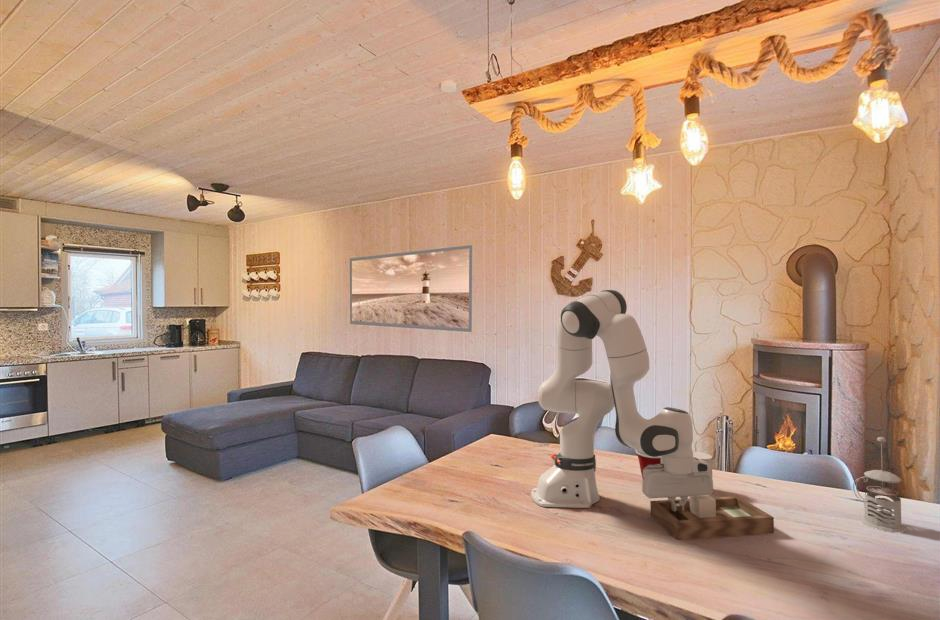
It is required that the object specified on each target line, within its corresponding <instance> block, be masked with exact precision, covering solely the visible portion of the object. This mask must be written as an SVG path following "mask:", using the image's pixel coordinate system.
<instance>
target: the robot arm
mask: <svg viewBox="0 0 940 620" xmlns="http://www.w3.org/2000/svg"><path fill="white" fill-rule="evenodd" d="M627 307H628V305H627V302H626V299H625V296H623V294H622V293H620V292H619V291H617V290H613V289H605V290H601V291H598V292H594V293H590V294H587V295H585V296H584V297H581V298H579V299H577V300H574V301H571V302H570V303H568V304H567V305H565V306H564V308H562V309H561V313H560V315H559V319H558V322H557V323H558V325H557V332H556V333H557V334H556V347H557V349H556V350H557V351H556V352H557V353H556V354H557V355H556V356H557V358H556V366H555V368H554V372H553V373H552V374H551V375H550V377H548V378H547V379H546V380H544V381H543V382H542V383H540V385H539V387H538V389H537V394H536V395H537V396H536V397H537V398H536V399H537V402H538V404H539V406H540V408H541V409H543V411H545V410H546V411H549V412H554V413H561V414H562V413H563V414H564V413H565V414H578V418H577V419H576V420H574V421H572V422H570V423H568V424H566V425H564V426H563V427H562V428H561V430H560V432H559V449H560V450H559V453H558V454H557V453H555V452H552V453H551V454H550V458H551V459H552V460H553V461H554V464H553V465H552V466H551V467H550V468H549V469H547V470H545V471H544V472H543V473H542V474H541V475H539V478H538V483H537V487H534V488H532V489H531V493H530V494H531V495H530V496H531V498H532V500H533V501H534V502H535V503H536V504H537V505H539V506H541V507H543V508H546V507H547V508H575V509H576V508H577V509H582V508H583V509H588V508H589V509H590V508H591V507H592V505H593V504H595V503H598V502H599V501H600V499H601V498H600V494H599V490H598V485H597V481H596V480H597V479H596V467H597V461H596V454H595V436H596V431H597V427H598V425H599V423H600V422H601V420H602V419H603V418H605V416H606V415H608V414H609V413H610V412H612V411H613V410H615V425H614V428H615V429H614V430H615V437H616V439H617V440H618V442H619V443H620V444H621V445H622V446H624V447H628V448H630V449H633V450H637V451H639V452H641V453H643V454H646V455H648V456H652V457H659V456H661V464H656V465H647V467H645V468H644V469H643V479H642V485H641V489H642V490H641V491H642V493H643V495H644V496H645V497H647V498H648V499H662V498H663V499H664V498H667V500H669V501H670V503H671V507H672V511H674V512H678V511H684V505H685V504H686V502H687V500H688V499H689V497H690V496H703V495H709V496H711V495H712V494H713V493H714V480H713V474H712V475H711V473H710V472H709V471H710V470H711V466H710V465H709V464H708V463H706V462H705V461H703V460H701V459H698V458H695V457H693V452H694V451H693V442H694V431H693V421H692V417H691V415H690V413H689V412H688V411H685V410H683V409H679V408H675V407H667V406H666V407H662V409H661V410H660V412H659V413H658V414H656V415H655V416H653V417H651V418H649V419H646V418H644V416H642V415H641V414H640V413H639V411H638V409H637V403H636V397H635V392H634V387H635V383H636V382H639V381H641V380H642V379H644V378H645V376H646V375H647V374H648V373H649V370H650V356H649V352H648V348H647V345H646V342H645V339H644V336H643V334H642V331H641V328H640V326H639V324H638V323H637V322H638V321H636V319H635V318H634V317H633V315H631V314H627ZM596 336H597V337H598V338H600V339H601V341H602V343H603V346H604V348H605V349H604V350H605V353H606V357H607V361H608V365H609V370H610V371H609V372H610V375H609V376H610V383H608V382H604V381H599V380H591V379H590V380H586V379H585V380H583V379H580V380H579V379H577V377H579V376H582V375H584V374H586V373H587V372H588V371H589V370H590V369H591V368H592V365H593V339H594V338H595V337H596ZM712 492H713V493H712ZM676 498H680V501H679V503H677V504H675V502H674V500H676Z"/></svg>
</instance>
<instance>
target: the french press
mask: <svg viewBox="0 0 940 620" xmlns="http://www.w3.org/2000/svg"><path fill="white" fill-rule="evenodd" d="M876 441H878V442H880V454H881V455H880V457H881V462H880V463H881V469H871V470H867V471H865V472H863V475H864V476H861V477H858V478H856V479H855V480H854V482H853V485H852V488H853V493H854V495H855V496H856V498H857V499H859V501H861V502H862V503H863V505H864V516H863V517H861V519H860V521H861V523H862V524H863V525H866V526H867V525H868V526H867V527H870V528H872V527H873V529H875V528H877V529H876V530H878V529H881V530H880V531H882V530H883V532H887V531H890V532H889V533H895V532H901V533H903V532H902V531H905V530H906V529H907V528H906V527H905V526H904V524H902V499H901V497H900V496H899V495H900V493H899V492H898V491H897V490H895V489H891V488H889V487H884V483H889V484H898V483H900V482H901V481H902V478H901V477H899V476H898V475H896V474H894V473H892V472H890V471H886V470H883V469H884V468H883V443H885V442H886V441H887V440H886V438H885V437H883V436H878V437H877V438H876ZM860 479H861V480H862V479H863V482H864V483H867V482H869V479H871V480H874V481H878V482H881V486H877V485H869V486H866V487H865V489H866V490H867V491H866V492H864V497H862V495H860V493H859V491H858V482H859V481H860ZM855 489H856V490H855ZM878 496H879V497H878ZM880 496H881V497H880ZM882 496H883V497H882ZM859 497H860V498H859ZM885 497H886V498H885ZM888 498H889V499H888ZM890 499H891V500H890ZM906 531H907V530H906ZM906 531H905V532H906Z"/></svg>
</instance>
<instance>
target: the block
mask: <svg viewBox="0 0 940 620" xmlns="http://www.w3.org/2000/svg"><path fill="white" fill-rule="evenodd" d="M689 499H690V511H691V512H692V513H694V514H695V515H696V516H698V517H699V518H708V517H716V500H715V499H714V498H712V496H711V495H703V496H689Z"/></svg>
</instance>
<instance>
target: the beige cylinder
mask: <svg viewBox="0 0 940 620" xmlns="http://www.w3.org/2000/svg"><path fill="white" fill-rule="evenodd" d="M693 457H695V458H698V459H701V460H703V461H705V462H706V463H708V464H709V465H710V466H711V470H710V471H709V472H710V473H711V475H712V476H713V456H712V455H711V454H709V453H706V452H699V451H693ZM713 493H714V491H713V492H712V494H713Z"/></svg>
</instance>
